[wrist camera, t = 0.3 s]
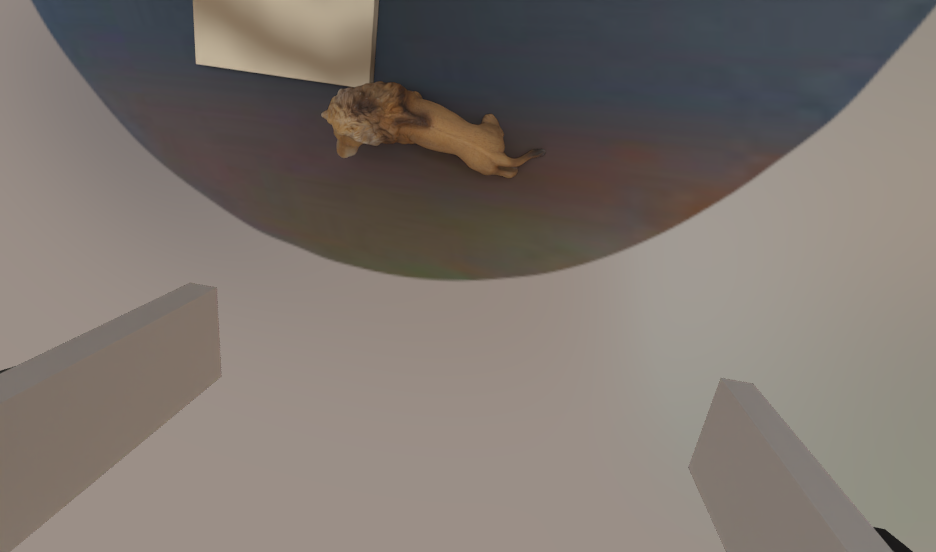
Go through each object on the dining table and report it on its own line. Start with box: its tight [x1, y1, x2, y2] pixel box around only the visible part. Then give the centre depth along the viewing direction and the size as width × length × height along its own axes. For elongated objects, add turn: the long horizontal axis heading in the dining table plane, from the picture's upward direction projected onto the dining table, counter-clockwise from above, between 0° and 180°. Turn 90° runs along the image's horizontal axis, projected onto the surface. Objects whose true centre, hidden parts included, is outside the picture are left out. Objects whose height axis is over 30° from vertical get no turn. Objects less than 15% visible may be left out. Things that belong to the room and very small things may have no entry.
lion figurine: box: [321, 81, 545, 178], centre depth 32 cm, size 15×5×9 cm, turn 80°
